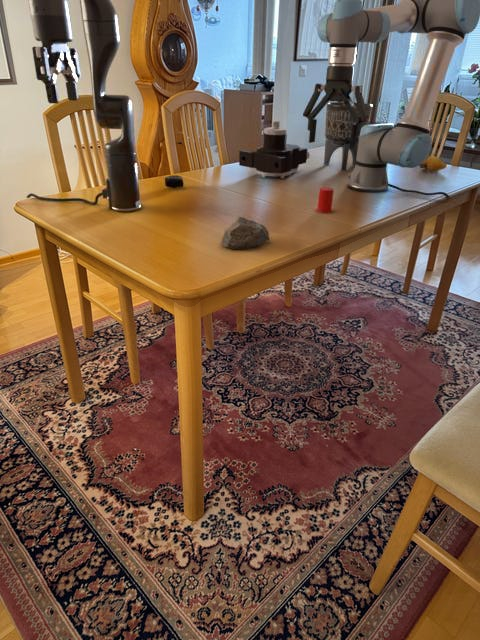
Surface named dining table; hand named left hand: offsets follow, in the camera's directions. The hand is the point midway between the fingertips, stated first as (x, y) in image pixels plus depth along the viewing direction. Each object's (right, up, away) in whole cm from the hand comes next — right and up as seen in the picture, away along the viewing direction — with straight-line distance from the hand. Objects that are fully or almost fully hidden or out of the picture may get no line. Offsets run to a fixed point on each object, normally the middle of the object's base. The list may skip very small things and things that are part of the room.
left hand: (64, 101), depth 101 cm
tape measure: (+15, +1, +70) cm, 72 cm away
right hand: (+68, +5, +38) cm, 78 cm away
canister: (+67, -13, +49) cm, 84 cm away
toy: (+127, +20, +108) cm, 168 cm away
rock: (+41, -28, +21) cm, 54 cm away
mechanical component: (+57, +15, +95) cm, 112 cm away
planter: (+87, +22, +110) cm, 141 cm away
